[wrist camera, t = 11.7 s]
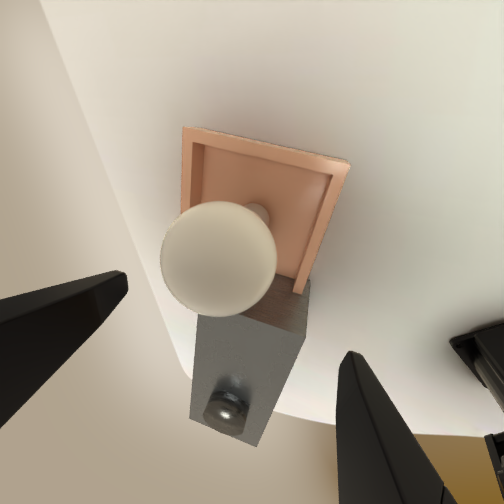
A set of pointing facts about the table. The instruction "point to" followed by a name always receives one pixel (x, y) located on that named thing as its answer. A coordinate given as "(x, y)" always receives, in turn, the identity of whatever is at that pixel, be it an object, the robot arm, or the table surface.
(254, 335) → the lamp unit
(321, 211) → the dish
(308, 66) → the table surface
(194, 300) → the lightbulb
